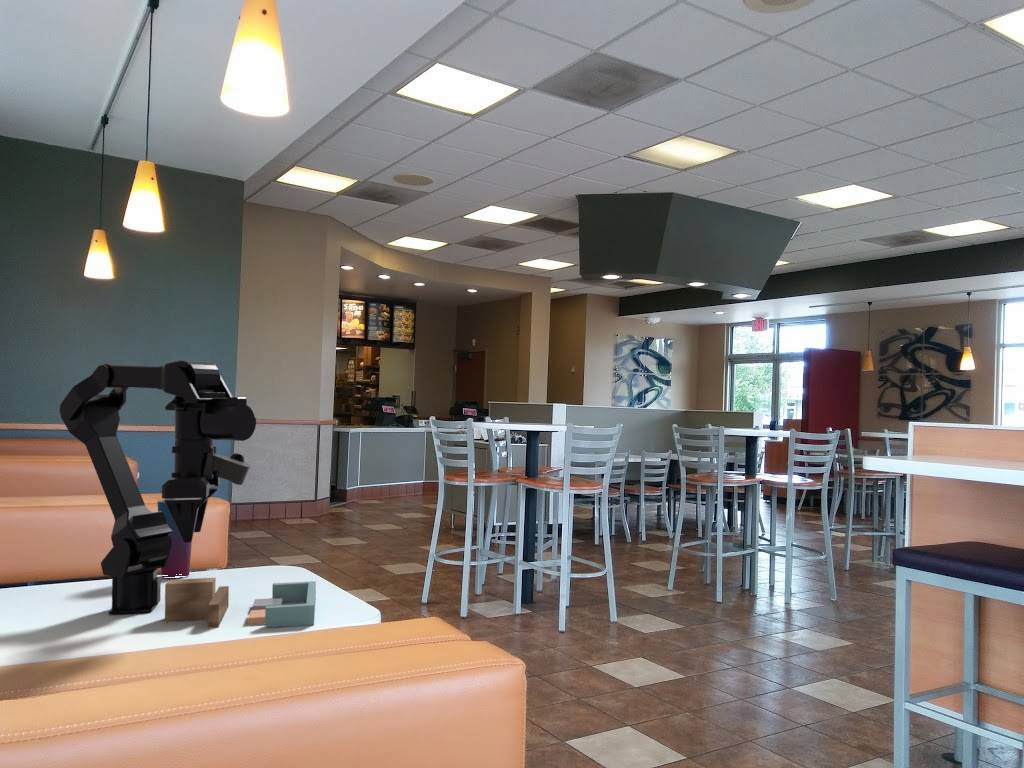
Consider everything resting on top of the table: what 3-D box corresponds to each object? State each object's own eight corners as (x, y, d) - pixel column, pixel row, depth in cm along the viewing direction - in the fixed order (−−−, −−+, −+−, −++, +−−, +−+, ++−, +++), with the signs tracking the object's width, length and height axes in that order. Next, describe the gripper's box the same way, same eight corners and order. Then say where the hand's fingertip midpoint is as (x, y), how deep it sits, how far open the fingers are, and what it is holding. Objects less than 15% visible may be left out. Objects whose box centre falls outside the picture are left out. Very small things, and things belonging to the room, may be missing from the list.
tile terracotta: (247, 627, 119) (247, 618, 119) (250, 619, 123) (250, 610, 123) (278, 625, 120) (278, 616, 120) (280, 617, 124) (280, 608, 124)
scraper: (158, 631, 116) (159, 591, 116) (174, 610, 127) (174, 573, 128) (218, 627, 118) (218, 587, 118) (228, 607, 129) (228, 571, 130)
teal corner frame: (265, 627, 117) (265, 608, 117) (272, 600, 133) (273, 583, 133) (313, 624, 119) (314, 605, 119) (315, 598, 135) (315, 581, 135)
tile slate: (252, 615, 126) (252, 606, 126) (254, 608, 130) (254, 599, 130) (281, 613, 127) (281, 604, 127) (282, 606, 131) (282, 597, 131)
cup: (168, 582, 147) (168, 503, 147) (149, 577, 151) (150, 500, 151) (201, 575, 152) (201, 499, 153) (182, 570, 156) (183, 497, 157)
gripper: (241, 442, 116) (240, 545, 116) (251, 436, 134) (250, 525, 134) (161, 442, 113) (160, 548, 113) (183, 436, 132) (181, 528, 131)
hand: (192, 536), depth 123 cm, fingers open, 9 cm apart
